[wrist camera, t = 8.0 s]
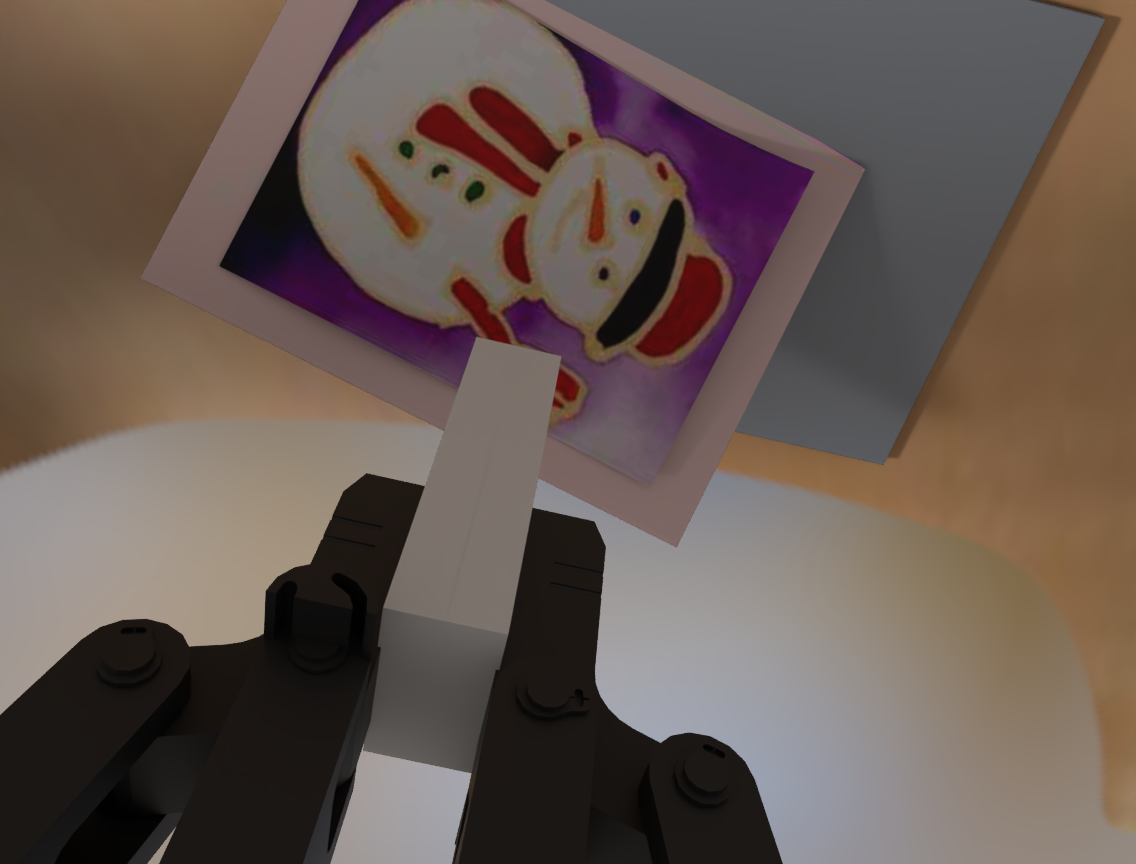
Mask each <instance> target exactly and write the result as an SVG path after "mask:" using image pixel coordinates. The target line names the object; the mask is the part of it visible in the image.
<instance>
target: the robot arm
mask: <svg viewBox="0 0 1136 864" xmlns="http://www.w3.org/2000/svg"><path fill="white" fill-rule="evenodd" d="M560 361H561V356H558V355H554V354H549V353H545V352H541V351H536V350H532V349H527V348H523V347H519V346H514V345H510V344H506V343H501V342H497V341H492V340H488V339H484V338H479V337H476V340H475V343H474V346H473V349H472V352H471V355H470V357H469V360H468V363H467V366H466V369H465V372H464V375H463V378H462V381H461V384H460V386H459V389H458V392H457V395H456V398H455V401H454V404H453V407H452V410H451V412H450V415H449V418H448V421H447V424H446V427H445V430H444V433H443V436H442V439H441V441H440V444H439V447H438V451H437V453H436V456H435V459H434V462H433V465H432V467H431V470H430V473H429V476H428V479H427V482H426V485H425V486H422V485H417V484H413V483H408V482H403V481H399V480H394V479H390V478H385V477H381V476H376V475H372V474H367V473H366V474H365V475H364V476H363V477H361V478H360V479H359V480H357V481H356V482H355V483H354V484H353V485H351V486H350V487H349V488H347V489H346V490H345V491H344V492H343V494H342V496H341V498H340V500H339V502H338V505H337V507H336V509H335V511H334V514H333V517H332V520H330V522H329V524H328V527H327V529H326V531H325V533H324V537H323V540H321V542H320V544H319V547H318V549H317V551H316V553H315V555H314V557H313V560H312V562H311V564H310V565H304V566H299V567H295V568H293V569H291V570H289V571H287V572H286V573H284V574H282V575H280V576H278V577H277V578H276V579H275V580H274V582H273V583H272V584H271V585H270V586H269V588H268V589H267V590H266V598H265V623H264V634H263V635H261V636H259V637H256V638H253V639H250V640H247V641H244V642H240V643H233V644H226V645H210V646H191V647H189V646H188V644H187V642H186V640H185V639H184V636H183V635H182V634H181V633H179V632H178V631H176V630H175V629H173V628H172V627H170V626H169V625H168V624H165V623H160V622H156V621H153V620H148V619H135V620H121V621H118V622H115V623H112V624H109V625H106V626H102V627H100V628H98V629H97V630H95V631H94V632H92V633H91V634H89V635H88V636H86V637H85V638H83V639H82V640H81V641H79V642H78V643H77V644H76V645H75V646H74V647H73V648H72V649H71V650H70V651H69V652H68V653H67V654H65V655H64V656H63V657H62V658H61V659H60V660H59V661H58V662H57V663H56V664H55V665H54V666H53V667H51V668H50V669H49V670H48V671H47V672H46V673H45V674H44V675H43V676H42V677H41V678H40V679H38V680H37V681H36V682H35V683H34V684H33V685H32V686H31V687H30V688H29V689H28V690H27V691H25V693H23V694H22V695H21V696H20V697H19V698H18V699H17V700H16V701H15V702H14V703H13V704H12V705H10V706H9V707H8V708H7V709H6V710H5V711H4V712H3V713H2V714H1V715H0V864H147V863H148V862H149V861H150V859H151V858H152V857H153V855H154V854H155V853H156V852H157V850H158V849H159V848H160V846H161V845H162V844H163V843H164V841H165V840H166V839H167V837H168V836H169V835H170V833H171V832H172V831H173V830H174V828H175V827H176V829H175V831H174V833H173V835H172V837H171V839H170V842H169V844H168V846H167V848H166V850H165V852H164V855H163V857H162V859H161V861H160V863H159V864H330V863H331V859H332V856H333V853H334V850H335V846H336V843H337V840H338V837H339V834H340V830H341V827H342V824H343V820H344V817H345V814H346V811H347V807H348V804H349V801H350V798H351V795H352V792H353V788H354V780H355V773H356V766H357V762H358V759H359V756H360V753H361V750H362V747H363V744H364V748H363V750H364V751H368V752H373V753H377V754H382V755H387V756H391V757H397V758H401V759H406V760H411V761H415V762H421V763H425V764H430V765H435V766H440V767H445V768H449V769H454V770H459V771H463V772H469V773H472V774H471V779H470V784H469V789H468V793H467V797H466V801H465V805H464V809H463V813H462V817H461V821H460V825H459V829H458V833H457V837H456V841H455V844H456V848H455V852H454V857H453V862H452V864H783V863H782V860H781V857H780V854H779V851H778V848H777V845H776V842H775V839H774V836H773V833H772V830H771V827H770V824H769V821H768V818H767V815H766V812H765V809H764V806H763V803H762V800H761V797H760V794H759V791H758V788H757V785H756V782H755V779H754V777H753V776H752V774H751V772H750V770H749V768H748V766H747V764H746V762H745V761H744V760H743V759H742V758H741V757H740V756H739V755H738V754H737V753H736V752H735V751H734V750H733V749H732V748H730V747H729V746H728V745H726V744H724V743H722V742H720V741H718V740H716V739H714V738H712V737H710V736H706V735H700V734H695V733H684V734H678V735H673V736H670V737H669V738H667V739H666V740H664V741H663V742H662V743H659V742H658V741H655V740H654V739H652V738H650V737H648V736H646V735H644V734H642V733H640V732H638V731H636V730H635V729H633V728H631V727H630V726H628V725H627V724H625V723H624V722H622V721H621V720H619V719H618V718H617V717H616V716H615V715H614V714H613V713H612V712H611V711H610V710H609V709H608V707H607V706H606V704H605V703H604V701H603V700H602V698H601V697H600V695H599V692H598V689H597V686H596V682H595V663H596V651H597V640H598V628H599V618H600V605H601V593H602V583H603V572H604V561H605V550H606V546H605V544H604V542H603V540H602V538H601V535H600V533H599V531H598V529H597V526H596V524H595V522H594V521H589V520H585V519H580V518H576V517H571V516H567V515H563V514H558V513H554V512H549V511H544V510H540V509H535V508H533V502H534V497H535V491H536V487H537V481H538V476H539V471H540V466H541V461H542V455H543V450H544V445H545V440H546V434H547V429H548V424H549V419H550V413H551V408H552V403H553V398H554V393H555V387H556V382H557V377H558V372H559V366H560Z"/></svg>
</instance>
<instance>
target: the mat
mask: <svg viewBox="0 0 1136 864" xmlns="http://www.w3.org/2000/svg"><path fill="white" fill-rule="evenodd" d="M545 1H547V2H549V3H551V4H553V5H555V6H557V7H559V8H560V9H562V10H564V11H566V12H568V13H570V14H572V15H574V16H576V17H578V18H580V19H582V20H584V21H586V22H588V23H590V24H592V25H594V26H596V27H598V28H600V29H601V30H603V31H605V32H607V33H609V34H611V35H613V36H615V37H617V38H619V39H621V40H623V41H625V42H627V43H629V44H631V45H633V46H635V47H637V48H639V49H641V50H643V51H644V52H646V53H648V54H650V55H652V56H654V57H656V58H658V59H660V60H662V61H664V62H666V63H668V64H670V65H672V66H674V67H676V68H678V69H680V70H682V71H684V72H686V73H687V74H689V75H691V76H693V77H695V78H697V79H699V80H701V81H703V82H705V83H707V84H709V85H711V86H713V87H715V88H717V89H719V90H721V91H723V92H725V93H727V94H728V95H730V96H732V97H734V98H736V99H738V100H740V101H742V102H744V103H746V104H748V105H750V106H752V107H754V108H756V109H758V110H760V111H762V112H764V113H766V114H768V115H770V116H771V117H773V118H775V119H777V120H779V121H781V122H783V123H785V124H787V125H789V126H791V127H793V128H795V129H797V130H799V131H801V132H803V133H805V134H807V135H809V136H811V137H813V138H814V139H816V140H818V141H820V142H821V143H823V144H825V145H826V146H828V147H830V148H831V149H833V150H835V151H836V152H838V153H840V154H841V155H843V156H845V157H846V158H848V159H850V160H851V161H853V162H855V163H856V164H858V165H860V166H861V167H863V168H865V171H864V173H863V175H862V177H861V179H860V181H859V183H858V185H857V187H856V189H855V191H854V193H853V195H852V197H851V199H850V201H849V203H848V205H847V207H846V209H845V211H844V213H843V215H842V217H841V219H840V221H839V223H838V225H837V227H836V229H835V231H834V233H833V235H832V237H831V239H830V241H829V243H828V245H827V247H826V249H825V251H824V253H823V255H822V257H821V259H820V261H819V263H818V265H817V267H816V269H815V271H814V273H813V275H812V277H811V279H810V281H809V283H808V285H807V287H806V289H805V291H804V293H803V295H802V297H801V299H800V301H799V303H798V305H797V307H796V309H795V311H794V313H793V315H792V317H791V319H790V321H789V323H788V325H787V327H786V329H785V331H784V333H783V335H782V337H781V339H780V341H779V343H778V345H777V347H776V349H775V351H774V353H773V355H772V357H771V359H770V361H769V363H768V365H767V367H766V369H765V371H764V373H763V375H762V377H761V379H760V381H759V383H758V385H757V387H756V389H755V391H754V393H753V395H752V397H751V399H750V401H749V403H748V405H747V407H746V409H745V411H744V413H743V415H742V417H741V419H740V421H739V423H738V425H737V427H736V429H735V432H739V433H744V434H748V435H753V436H757V437H761V438H766V439H770V440H775V441H779V442H784V443H788V444H792V445H797V446H801V447H806V448H810V449H815V450H819V451H823V452H828V453H832V454H837V455H841V456H846V457H850V458H854V459H859V460H863V461H868V462H872V463H876V464H881V465H884V463H885V461H886V459H887V457H888V455H889V453H890V451H891V449H892V447H893V445H894V443H895V441H896V439H897V437H898V435H899V433H900V431H901V429H902V427H903V425H904V423H905V421H906V419H907V417H908V415H909V413H910V411H911V409H912V407H913V405H914V403H915V401H916V399H917V397H918V395H919V393H920V390H921V388H922V386H923V384H924V382H925V380H926V378H927V376H928V374H929V372H930V370H931V368H932V366H933V364H934V362H935V360H936V358H937V356H938V354H939V352H940V350H941V348H942V346H943V344H944V342H945V340H946V338H947V336H948V334H949V332H950V330H951V328H952V326H953V324H954V322H955V320H956V318H957V316H958V314H959V312H960V310H961V308H962V306H963V304H964V302H965V300H966V298H967V296H968V294H969V292H970V290H971V288H972V286H973V284H974V282H975V280H976V278H977V276H978V274H979V272H980V270H981V268H982V266H983V264H984V262H985V260H986V258H987V256H988V254H989V252H990V250H991V248H992V246H993V244H994V242H995V240H996V238H997V236H998V234H999V232H1000V230H1001V228H1002V226H1003V224H1004V222H1005V220H1006V218H1007V216H1008V214H1009V212H1010V210H1011V208H1012V206H1013V204H1014V202H1015V200H1016V198H1017V196H1018V194H1019V192H1020V190H1021V188H1022V186H1023V184H1024V182H1025V180H1026V178H1027V176H1028V174H1029V172H1030V170H1031V168H1032V166H1033V164H1034V162H1035V160H1036V158H1037V156H1038V154H1039V152H1040V150H1041V147H1042V145H1043V143H1044V141H1045V139H1046V137H1047V135H1048V133H1049V131H1050V129H1051V127H1052V125H1053V123H1054V121H1055V119H1056V117H1057V115H1058V113H1059V111H1060V109H1061V107H1062V105H1063V103H1064V101H1065V99H1066V97H1067V95H1068V93H1069V91H1070V89H1071V87H1072V85H1073V83H1074V81H1075V79H1076V77H1077V75H1078V73H1079V71H1080V69H1081V67H1082V65H1083V63H1084V61H1085V59H1086V57H1087V55H1088V53H1089V51H1090V49H1091V47H1092V45H1093V43H1094V41H1095V39H1096V37H1097V35H1098V33H1099V31H1100V29H1101V27H1102V25H1103V23H1104V21H1105V19H1104V18H1102V17H1101V16H1098V15H1094V14H1090V13H1086V12H1082V11H1078V10H1074V9H1070V8H1066V7H1062V6H1058V5H1054V4H1050V3H1046V2H1042V1H1038V0H545Z"/></svg>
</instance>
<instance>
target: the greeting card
mask: <svg viewBox="0 0 1136 864" xmlns="http://www.w3.org/2000/svg"><path fill="white" fill-rule="evenodd" d="M864 171H865V168H863V167H861V166H860V165H858V164H856V163H855V162H853V161H851V160H850V159H848V158H846V157H845V156H843V155H841V154H840V153H838V152H836V151H835V150H833V149H831V148H830V147H828V146H826V145H825V144H823V143H821V142H820V141H818V140H816V139H814V138H813V137H811V136H809V135H807V134H805V133H803V132H801V131H799V130H797V129H795V128H793V127H791V126H789V125H787V124H785V123H783V122H781V121H779V120H777V119H775V118H773V117H771V116H770V115H768V114H766V113H764V112H762V111H760V110H758V109H756V108H754V107H752V106H750V105H748V104H746V103H744V102H742V101H740V100H738V99H736V98H734V97H732V96H730V95H728V94H727V93H725V92H723V91H721V90H719V89H717V88H715V87H713V86H711V85H709V84H707V83H705V82H703V81H701V80H699V79H697V78H695V77H693V76H691V75H689V74H687V73H686V72H684V71H682V70H680V69H678V68H676V67H674V66H672V65H670V64H668V63H666V62H664V61H662V60H660V59H658V58H656V57H654V56H652V55H650V54H648V53H646V52H644V51H643V50H641V49H639V48H637V47H635V46H633V45H631V44H629V43H627V42H625V41H623V40H621V39H619V38H617V37H615V36H613V35H611V34H609V33H607V32H605V31H603V30H601V29H600V28H598V27H596V26H594V25H592V24H590V23H588V22H586V21H584V20H582V19H580V18H578V17H576V16H574V15H572V14H570V13H568V12H566V11H564V10H562V9H560V8H559V7H557V6H555V5H553V4H551V3H549V2H547V1H545V0H287V1H286V3H285V5H284V7H283V9H282V11H281V13H280V15H279V17H278V18H277V20H276V22H275V24H274V26H273V28H272V30H271V32H270V34H269V35H268V37H267V39H266V41H265V43H264V45H263V47H262V49H261V51H260V53H259V54H258V56H257V58H256V60H255V62H254V64H253V66H252V68H251V70H250V71H249V73H248V75H247V77H246V79H245V81H244V83H243V85H242V87H241V89H240V90H239V92H238V94H237V96H236V98H235V100H234V102H233V104H232V106H231V107H230V109H229V111H228V113H227V115H226V117H225V119H224V121H223V123H222V125H221V126H220V128H219V130H218V132H217V134H216V136H215V138H214V140H213V142H212V143H211V145H210V147H209V149H208V151H207V153H206V155H205V157H204V159H203V161H202V162H201V164H200V166H199V168H198V170H197V172H196V174H195V176H194V178H193V179H192V181H191V183H190V185H189V187H188V189H187V191H186V193H185V195H184V197H183V198H182V200H181V202H180V204H179V206H178V208H177V210H176V212H175V214H174V215H173V217H172V219H171V221H170V223H169V225H168V227H167V229H166V231H165V233H164V234H163V236H162V238H161V240H160V242H159V244H158V246H157V248H156V250H155V251H154V253H153V255H152V257H151V259H150V261H149V263H148V265H147V267H146V269H145V270H144V272H143V274H142V276H141V279H143V280H145V281H147V282H149V283H151V284H153V285H155V286H157V287H159V288H161V289H163V290H165V291H167V292H168V293H170V294H172V295H174V296H176V297H178V298H180V299H182V300H184V301H186V302H188V303H190V304H192V305H194V306H196V307H198V308H200V309H202V310H204V311H206V312H208V313H210V314H212V315H214V316H216V317H218V318H220V319H222V320H224V321H226V322H228V323H230V324H232V325H234V326H236V327H238V328H240V329H242V330H244V331H246V332H248V333H250V334H252V335H254V336H256V337H258V338H260V339H262V340H264V341H266V342H268V343H270V344H272V345H274V346H276V347H278V348H280V349H282V350H284V351H286V352H288V353H290V354H292V355H294V356H296V357H298V358H300V359H302V360H304V361H306V362H308V363H310V364H312V365H314V366H316V367H318V368H320V369H322V370H324V371H326V372H328V373H330V374H332V375H334V376H336V377H338V378H340V379H342V380H344V381H346V382H348V383H350V384H352V385H354V386H356V387H358V388H360V389H362V390H364V391H366V392H368V393H370V394H372V395H374V396H376V397H378V398H380V399H382V400H384V401H386V402H388V403H390V404H392V405H394V406H396V407H398V408H400V409H402V410H404V411H406V412H408V413H410V414H412V415H414V416H416V417H418V418H420V419H422V420H424V421H426V422H427V423H429V424H431V425H433V426H435V427H437V428H439V429H441V430H443V431H444V430H445V427H446V424H447V421H448V418H449V415H450V412H451V410H452V407H453V404H454V401H455V398H456V395H457V392H458V389H459V386H460V384H461V381H462V378H463V375H464V372H465V369H466V366H467V363H468V360H469V357H470V355H471V352H472V349H473V346H474V343H475V340H476V337H479V338H484V339H488V340H492V341H497V342H501V343H506V344H510V345H514V346H519V347H523V348H527V349H532V350H536V351H541V352H545V353H549V354H554V355H558V356H561V361H560V366H559V372H558V377H557V382H556V387H555V393H554V398H553V403H552V408H551V413H550V419H549V424H548V429H547V434H546V440H545V445H544V450H543V455H542V461H541V466H540V471H539V476H538V478H539V479H541V480H543V481H545V482H547V483H550V484H551V485H553V486H555V487H557V488H559V489H561V490H563V491H565V492H567V493H569V494H571V495H573V496H575V497H577V498H579V499H581V500H583V501H585V502H587V503H589V504H591V505H593V506H595V507H597V508H599V509H601V510H603V511H605V512H607V513H609V514H611V515H613V516H615V517H617V518H619V519H621V520H623V521H625V522H627V523H629V524H631V525H633V526H635V527H637V528H639V529H641V530H643V531H645V532H647V533H649V534H651V535H653V536H655V537H657V538H659V539H661V540H663V541H665V542H667V543H669V544H671V545H673V546H675V547H677V545H678V544H679V542H680V539H681V538H682V536H683V534H684V531H685V530H686V528H687V525H688V523H689V522H690V520H691V518H692V515H693V513H694V511H695V510H696V507H697V505H698V503H699V502H700V499H701V497H702V495H703V493H704V491H705V489H706V487H707V485H708V483H709V481H710V479H711V477H712V475H713V473H714V471H715V469H716V467H717V465H718V463H719V461H720V459H721V457H722V455H723V453H724V451H725V449H726V447H727V445H728V443H729V441H730V439H731V437H732V435H733V433H734V431H735V429H736V427H737V425H738V423H739V421H740V419H741V417H742V415H743V413H744V411H745V409H746V407H747V405H748V403H749V401H750V399H751V397H752V395H753V393H754V391H755V389H756V387H757V385H758V383H759V381H760V379H761V377H762V375H763V373H764V371H765V369H766V367H767V365H768V363H769V361H770V359H771V357H772V355H773V353H774V351H775V349H776V347H777V345H778V343H779V341H780V339H781V337H782V335H783V333H784V331H785V329H786V327H787V325H788V323H789V321H790V319H791V317H792V315H793V313H794V311H795V309H796V307H797V305H798V303H799V301H800V299H801V297H802V295H803V293H804V291H805V289H806V287H807V285H808V283H809V281H810V279H811V277H812V275H813V273H814V271H815V269H816V267H817V265H818V263H819V261H820V259H821V257H822V255H823V253H824V251H825V249H826V247H827V245H828V243H829V241H830V239H831V237H832V235H833V233H834V231H835V229H836V227H837V225H838V223H839V221H840V219H841V217H842V215H843V213H844V211H845V209H846V207H847V205H848V203H849V201H850V199H851V197H852V195H853V193H854V191H855V189H856V187H857V185H858V183H859V181H860V179H861V177H862V175H863V173H864Z"/></svg>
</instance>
